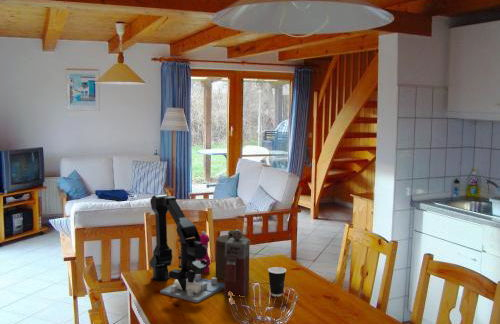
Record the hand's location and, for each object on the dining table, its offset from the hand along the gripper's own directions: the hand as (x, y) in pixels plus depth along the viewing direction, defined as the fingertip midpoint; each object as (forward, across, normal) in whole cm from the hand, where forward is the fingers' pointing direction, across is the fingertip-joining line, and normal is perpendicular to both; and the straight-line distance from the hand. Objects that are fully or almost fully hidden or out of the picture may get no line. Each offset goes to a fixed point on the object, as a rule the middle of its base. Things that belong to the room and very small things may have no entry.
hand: (187, 288), depth 216 cm
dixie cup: (+2, +20, -33) cm, 39 cm away
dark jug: (+2, +11, -18) cm, 21 cm away
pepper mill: (+2, +28, +12) cm, 31 cm away
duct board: (+2, +5, 0) cm, 5 cm away
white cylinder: (-1, 0, 0) cm, 1 cm away
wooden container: (+2, +30, -3) cm, 30 cm away
